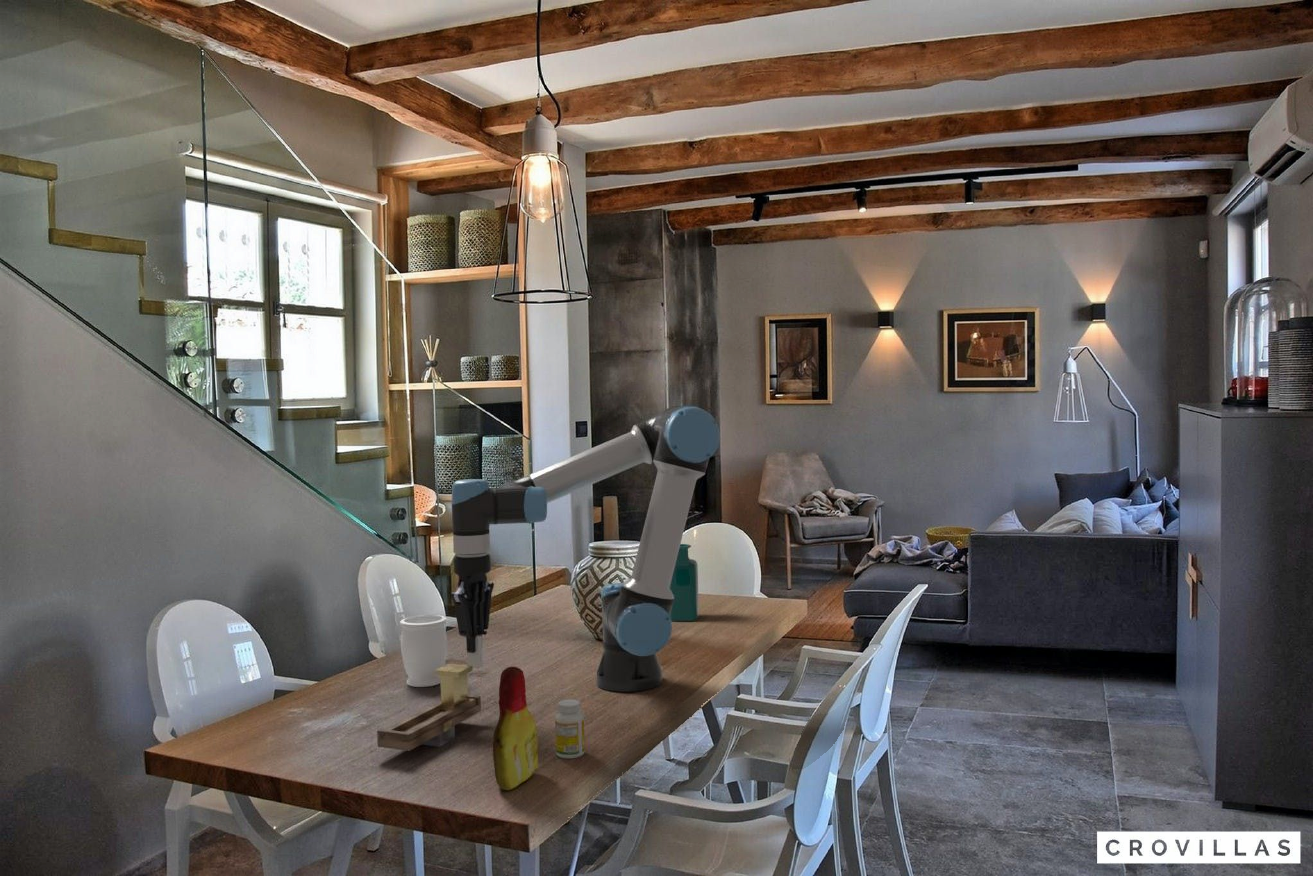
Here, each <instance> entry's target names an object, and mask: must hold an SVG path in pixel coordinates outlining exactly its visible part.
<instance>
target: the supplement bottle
mask: <svg viewBox="0 0 1313 876" xmlns="http://www.w3.org/2000/svg"><path fill="white" fill-rule="evenodd" d="M557 709H558V713H556V715H555V718H554V724H555V727H554V728H555V753H556V756H557V757H559V758H561V759H575V758H580V757H582V756H583V755H584V754H585V751H586V750H585V749H586V748H585V744H586V743H585V716H584V714H583V712H581V711H580V710H581V702H580V701H579V700H578V699H571V698H570V699H564V700H560V701H558V708H557Z"/></svg>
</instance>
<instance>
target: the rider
mask: <svg viewBox="0 0 1313 876" xmlns="http://www.w3.org/2000/svg"><path fill="white" fill-rule="evenodd" d="M473 670H474V668H472V666H469V665H468V664H457V663H456V664H455V663H447V664H445V666H443V667H441V668H438V669H436V670H435V675H438V676H440V681H441V683H440V700H441V708H442V710H443V711H448V710H450V709H452V708H454V707H455V706H457V705H459V704H461V703H463V702H465V701H467V700H468V695H469V690H468V689H469V687H468V685H469V683H468V673H471V672H473Z"/></svg>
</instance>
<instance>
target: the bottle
mask: <svg viewBox="0 0 1313 876" xmlns="http://www.w3.org/2000/svg"><path fill="white" fill-rule="evenodd" d="M499 678H500V679H499V680H500V681H499V688H498V709H499V717H498V720H497V721H498V722H497V723H496V726H495V728H494V731H493V738H492V739H493V742H492V743H493V744H492V751H493V752H492V755H493V766H494V767H493V768H494V775H495V781H496V784H497V786H498V788H500V789H501V790H504V791H511V790H513V789H515V788H516V787H518V786H519V785H520V784H522V783H523V782H525V781H527V780H529V778H530V777H531V776H532V775H533V774H534V773H535V770H536V769H538V768H539V744H538V729H537V723H536V721H535V719H534V717H533V715H532V713H531V711H529V709H528V704H527V694H526V693H527V689H526V679H525V675H524V670H523V669H521V668H519V667H517V666H508V667H506V668H505V669H504V670H503V671H502V672H501V674H500V677H499Z"/></svg>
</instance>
